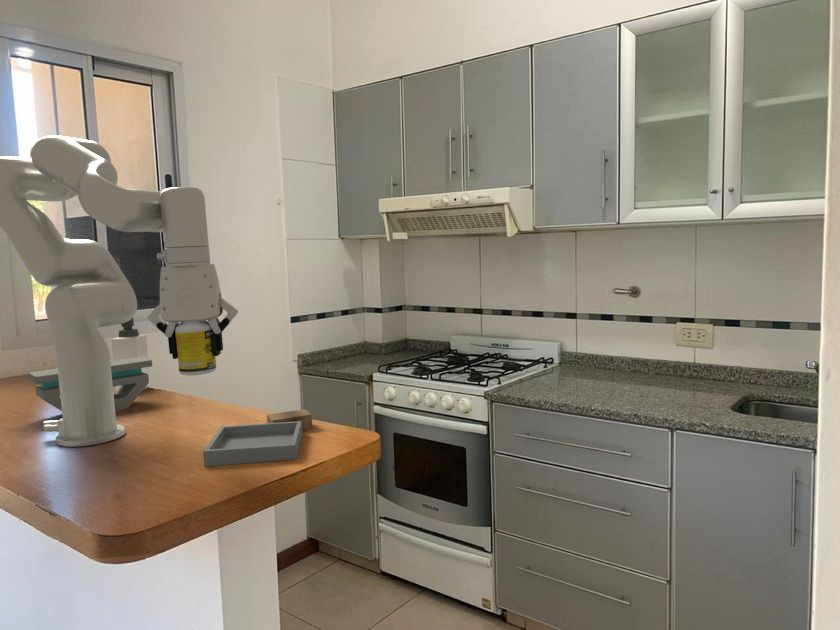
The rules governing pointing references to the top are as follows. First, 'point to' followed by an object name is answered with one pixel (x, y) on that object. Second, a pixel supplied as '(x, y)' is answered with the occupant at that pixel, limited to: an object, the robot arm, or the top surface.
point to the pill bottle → (195, 348)
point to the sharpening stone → (123, 375)
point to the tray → (254, 443)
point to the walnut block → (292, 418)
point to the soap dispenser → (130, 345)
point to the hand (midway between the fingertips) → (197, 355)
